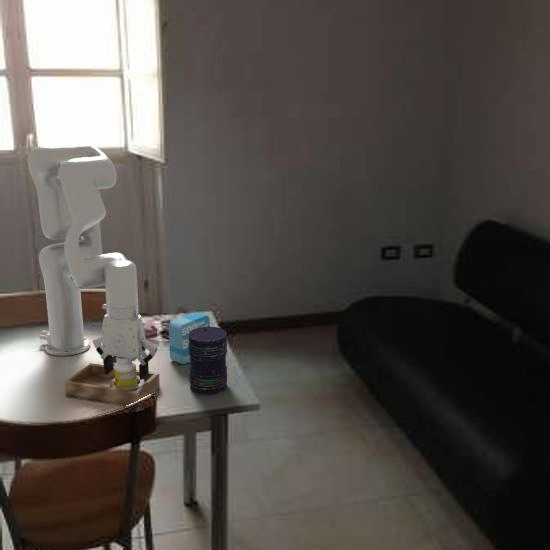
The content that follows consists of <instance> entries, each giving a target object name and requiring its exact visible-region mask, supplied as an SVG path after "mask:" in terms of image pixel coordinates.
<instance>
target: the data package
mask: <svg viewBox="0 0 550 550" xmlns="http://www.w3.org/2000/svg"><path fill="white" fill-rule="evenodd" d="M210 323H211V319H210V317H209V315H206V314H204V313H200V312H197V311H196V312H192V313H190V314H187V315H185V316H182V317H180V318H177V319H174V320H171V322H169V325H168V338H169V339H168V341H169V358H170V360H172V361H174V362H175V363H179V364H180V365H187V364H188V363H190V355H189V348H188V343H189V335H188V334H189V332H190V331H191V330H193V329H196V328H200V327H211V324H210Z"/></svg>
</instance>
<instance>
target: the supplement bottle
mask: <svg viewBox="0 0 550 550" xmlns="http://www.w3.org/2000/svg"><path fill="white" fill-rule="evenodd" d="M116 361H117V363H116V364H115V366H114V373H115V385H116V387H118V388H132V387H134V386H137V373H136V370H137V364H136V362H135V361H134V360H133V359H132V358H124V357H117V356H116Z"/></svg>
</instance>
